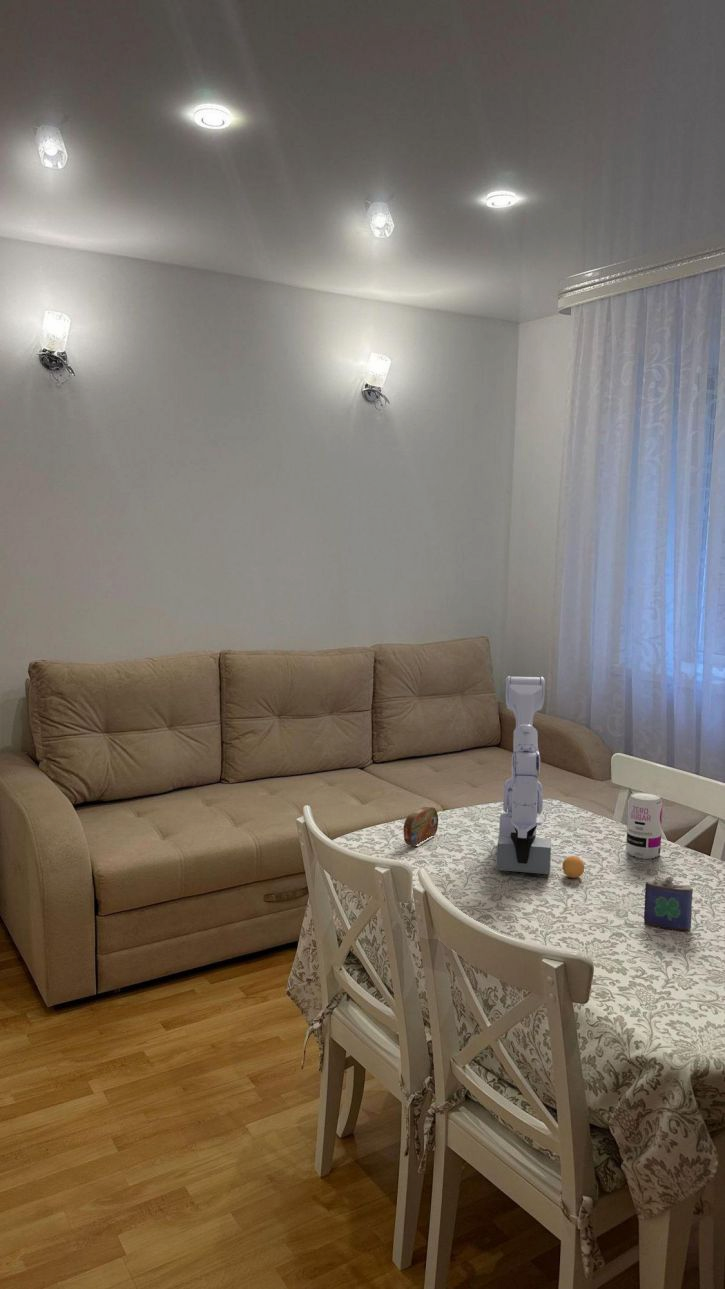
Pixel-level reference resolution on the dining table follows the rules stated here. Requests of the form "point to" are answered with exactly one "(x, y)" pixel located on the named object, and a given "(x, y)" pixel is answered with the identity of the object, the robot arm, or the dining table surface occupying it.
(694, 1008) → the dining table surface
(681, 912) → the flask
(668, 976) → the dining table surface
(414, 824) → the tin
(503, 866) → the grey rectangular prism
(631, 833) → the supplement can
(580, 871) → the ball
